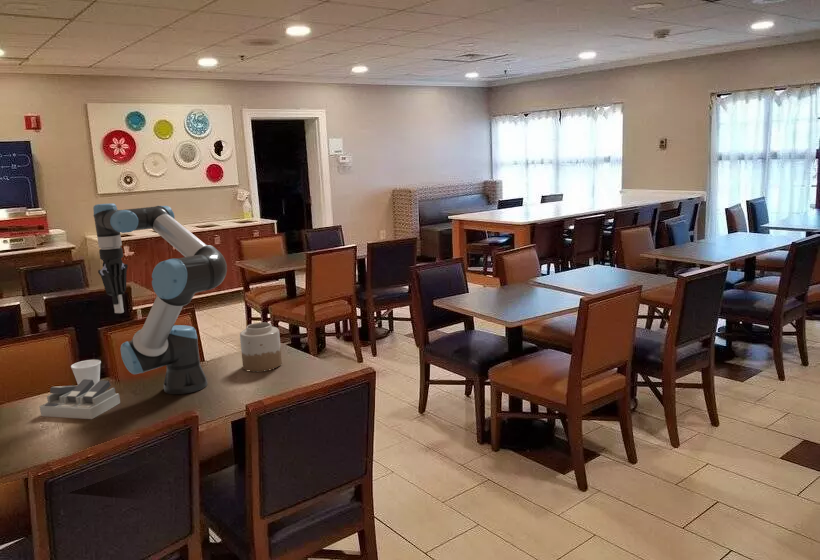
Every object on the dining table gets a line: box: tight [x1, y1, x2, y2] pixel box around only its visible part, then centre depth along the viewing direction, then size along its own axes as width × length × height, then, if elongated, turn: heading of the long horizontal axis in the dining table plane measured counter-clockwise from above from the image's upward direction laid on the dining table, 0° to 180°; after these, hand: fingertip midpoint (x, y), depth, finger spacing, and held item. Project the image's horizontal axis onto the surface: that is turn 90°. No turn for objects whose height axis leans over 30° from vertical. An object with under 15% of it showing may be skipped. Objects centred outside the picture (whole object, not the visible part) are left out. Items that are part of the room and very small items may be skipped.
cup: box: [70, 359, 102, 391], centre depth 235 cm, size 10×10×11 cm
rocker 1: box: [49, 385, 78, 394], centre depth 221 cm, size 4×9×2 cm, turn 166°
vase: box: [239, 322, 283, 372], centre depth 256 cm, size 15×15×17 cm
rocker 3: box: [83, 380, 111, 402], centre depth 218 cm, size 4×9×2 cm, turn 166°
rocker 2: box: [67, 379, 94, 402], centre depth 220 cm, size 4×9×2 cm, turn 166°
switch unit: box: [39, 387, 121, 420], centre depth 219 cm, size 20×14×6 cm
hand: (119, 312), depth 231 cm, fingers closed
